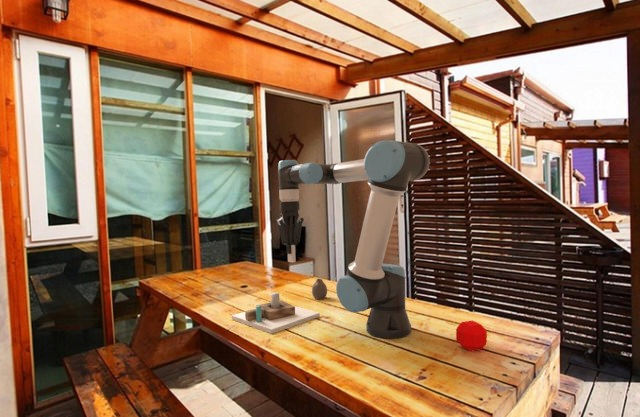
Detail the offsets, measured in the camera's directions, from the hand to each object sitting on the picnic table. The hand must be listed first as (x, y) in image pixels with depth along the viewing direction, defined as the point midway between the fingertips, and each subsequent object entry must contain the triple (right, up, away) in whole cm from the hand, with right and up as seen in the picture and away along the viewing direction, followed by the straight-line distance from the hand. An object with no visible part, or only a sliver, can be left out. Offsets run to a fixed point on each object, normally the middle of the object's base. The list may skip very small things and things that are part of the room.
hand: (291, 261), depth 152 cm
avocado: (+11, -21, +27) cm, 36 cm away
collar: (-9, -20, -1) cm, 22 cm away
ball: (+57, -22, -32) cm, 69 cm away
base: (-6, -22, +1) cm, 23 cm away
